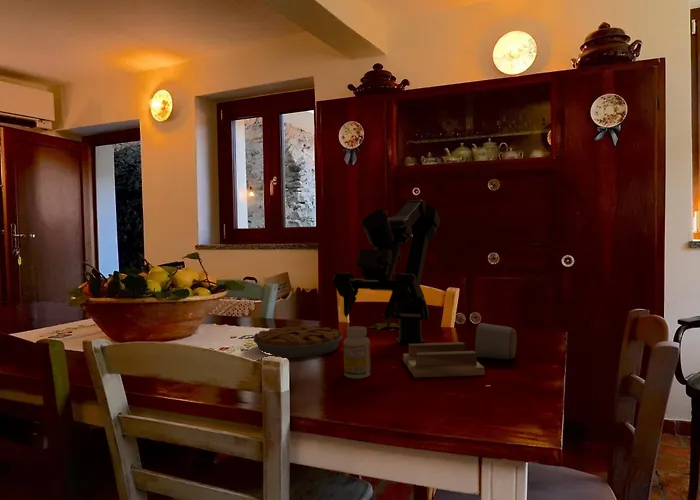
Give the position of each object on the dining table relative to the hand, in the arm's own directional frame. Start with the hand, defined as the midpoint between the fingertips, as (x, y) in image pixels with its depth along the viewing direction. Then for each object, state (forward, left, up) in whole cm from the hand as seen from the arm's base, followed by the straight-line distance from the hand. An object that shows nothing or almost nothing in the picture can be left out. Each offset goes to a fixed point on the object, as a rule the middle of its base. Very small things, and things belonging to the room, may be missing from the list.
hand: (365, 316), depth 106 cm
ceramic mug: (-8, +30, -11) cm, 33 cm away
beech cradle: (0, +16, -11) cm, 19 cm away
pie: (-22, -15, -12) cm, 29 cm away
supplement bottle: (+4, -2, -11) cm, 12 cm away
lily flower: (-48, +11, -12) cm, 50 cm away
